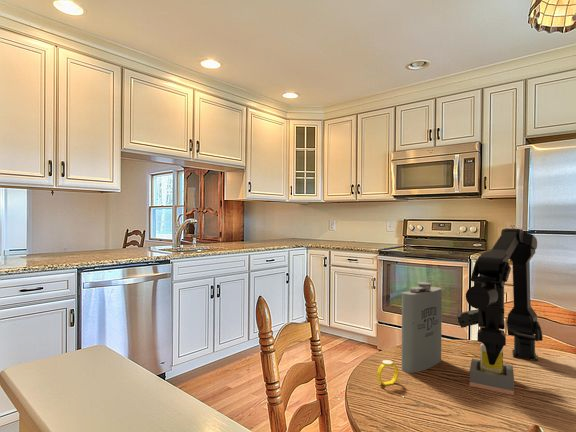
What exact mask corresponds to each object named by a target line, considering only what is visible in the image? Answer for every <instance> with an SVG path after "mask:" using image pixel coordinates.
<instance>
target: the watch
mask: <svg viewBox="0 0 576 432" xmlns="http://www.w3.org/2000/svg"><path fill="white" fill-rule="evenodd" d="M386 367H393V368H394V369H393V370H394V374H393V376H392V378H391V379H390V381H389V380H388V381H383V379H382V372H383V370H384V369H385V368H386ZM376 378H377V380H378V382H379V383H380V384H381V385H383V386H390V385H394V384H395V383H396V382H397V381H398V379H399V368H398V367H397V365H396V364H394V362H393V360H389V359H384V360H382V363H381V364H380V365H379V367H378V369H377V372H376Z"/></svg>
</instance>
